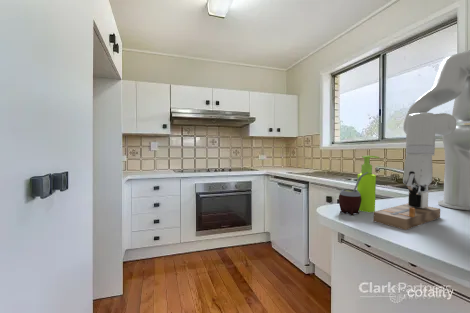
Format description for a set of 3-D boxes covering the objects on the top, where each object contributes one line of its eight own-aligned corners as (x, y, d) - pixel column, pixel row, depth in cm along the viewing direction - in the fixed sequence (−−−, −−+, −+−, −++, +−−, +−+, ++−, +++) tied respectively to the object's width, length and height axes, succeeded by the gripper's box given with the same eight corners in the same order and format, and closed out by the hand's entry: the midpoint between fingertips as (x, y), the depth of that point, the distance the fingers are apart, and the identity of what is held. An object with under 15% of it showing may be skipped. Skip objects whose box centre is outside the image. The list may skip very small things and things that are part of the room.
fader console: (408, 211, 86) (409, 196, 85) (440, 217, 78) (440, 201, 78) (373, 221, 74) (373, 203, 73) (406, 230, 66) (406, 210, 66)
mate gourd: (336, 210, 87) (337, 169, 86) (359, 211, 86) (360, 169, 85) (342, 215, 80) (343, 171, 79) (367, 217, 78) (368, 171, 78)
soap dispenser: (380, 212, 83) (382, 156, 83) (359, 211, 85) (360, 155, 84) (374, 208, 89) (375, 155, 88) (354, 207, 90) (355, 155, 90)
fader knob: (413, 204, 82) (414, 189, 82) (427, 206, 79) (428, 191, 78) (408, 205, 80) (408, 190, 80) (422, 208, 76) (422, 192, 76)
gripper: (418, 150, 86) (416, 200, 87) (394, 150, 77) (392, 206, 78) (444, 150, 80) (442, 204, 80) (421, 151, 71) (419, 211, 72)
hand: (418, 205), depth 79 cm, fingers closed on fader knob, 4 cm apart
